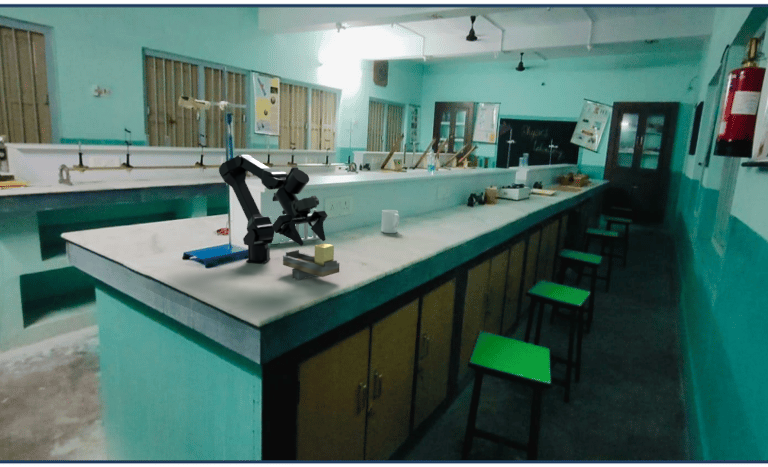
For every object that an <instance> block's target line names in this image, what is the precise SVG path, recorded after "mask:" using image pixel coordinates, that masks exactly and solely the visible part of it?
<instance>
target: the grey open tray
mask: <svg viewBox="0 0 768 467" xmlns="http://www.w3.org/2000/svg"><path fill="white" fill-rule="evenodd" d="M282 265H283V266H285V267H288V268H291V270H292V271H291V275H292V276H291V278H292V279H293V280H295V281H296V280H297V281H301V280H305V279H308V278H312V277H315V276H316V277H317V276H318V277H320V278H324V277H327V276H330V275H334V274H338V273H340V262H338V260H334V261H330V262H326V263H324V266H321V265H317V264H315V255H314V254H313V255H312V254H308V253H305V252H301V251H300V250H299V249H295V250H291V251H285V255H283V256H282Z"/></svg>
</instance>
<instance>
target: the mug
mask: <svg viewBox="0 0 768 467" xmlns="http://www.w3.org/2000/svg"><path fill="white" fill-rule="evenodd" d="M400 218H401V217H400V215H399V210H397V209H381V224H380V226H381V232H382V233H385V234H396V233H397V232H398V225H399V223H400Z"/></svg>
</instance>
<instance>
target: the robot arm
mask: <svg viewBox="0 0 768 467" xmlns="http://www.w3.org/2000/svg"><path fill="white" fill-rule="evenodd" d="M247 172H249V173H250V174H252V175H254V176H255V177H256V178H258V179H260V180H261V184H262V186H264V187H265V188H266V189H267V190H269V191H272V190H277V191H276V192H274V193H273V196H272V202H278V203H279V205H280V207H281V208H282V209H283V210H282V211H281V213H282V215H281V214H280V216H279V217H278V218H277V220H276V219H275V220H274V224H272V220H271V219H270V218H269V217H270V216H264V215H262V213H261V212H260V209H259V207H258V205H257V204H256V201H255V199H254V197H253V195H252V193H251V191H250V188H249V186H248V185H247V183H246V178H247ZM218 173H219V175H220V177H221V178H222V180H223V182H224V183H225V184H227V185H228V186H230V187H231V188H232V190H233V192H234V195H235V197H236V199H237V201H238V204H239V205H240V207H241V210H242V211H243V213H244V214H243V215H245V217H246V220H247V224H246V225H247V226H246V231H247V232H246V234H245V235H244V237H243V238H242V240H243V244H244V245H245V246H247V254H248V255H247V256H248V258H247V260H246V261H245V262H246V263H255V264H265V263H267V262H268V261H270V260H271V256H270V255H271V254H270V252H271V251H270V250H271V249H270V247H269V243H272V241H273V237H274V238H275V234H276V233H279V234H280V236H281V235H282V236H284V237H285V236H286V237H288V238H289V239H291V240H293V241H294V242H293V243H296V244H298V245H299V246H301V247H303V246H304V241H302V239H301V237H302V236H301V235H300V232H299V233H298V231H297V230H296V226H295V224H296V225H297V224H299V225H302V224H303V225H304V223H308V227H309V226H310V227H311V228H310V229H311V231H312V233H313V232H314V233H315V234H316V235H317V236H318V237H319V238H320V239H319V240H321V241H322V242H325V241H326V236H325V235H326V234H325V230H324V222H325V221H326V219H327V218H328V217H329V215H328V214H327V212H326V210H317V211H314V213H313V212H312V211H311V210H312V209H317V207H318V206H319V205H320V201H319V198H318V197H317V196H316V195H311V196H309V197H303V198H302V199H299V198H298V196H297V195H298V194H301V192H302V191H303V190H304V189H305V187H306V186H307V184H308V183H309V181H310V177H309V175H308V173H306V172H304V171H303V170H301V169H299V167H297V166H293V167H291V169H290V170H289V172H288V173H287V172H286V171H283V170H280V169H275V168H270V167H269V166H267V165H265V164H263V163H262V162H261V161H258V159H255V158H253V156H252V155H250V154H238V155H235V156H234V158H231V159H228V160H226V161H224V162H222V163H221V165H220V166H219V167H218ZM311 212H312V213H311ZM285 214H286V215H285ZM308 214H312V215H311V216H308Z"/></svg>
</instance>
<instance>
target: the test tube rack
mask: <svg viewBox="0 0 768 467" xmlns="http://www.w3.org/2000/svg"><path fill="white" fill-rule="evenodd" d="M314 211H318V210H317V208H313V210H312V213H309V214H308V216H311V215H312V214H313V213H314ZM296 230H297V231H298V233H299V234H300V224H297V225H296ZM311 236H312V237H309V224H308V223H303V237H304V238H301V239H302V241H303V242H307V241H317V240H321V239H320V238H319V237H318V236H317V235H316V234H315V233H314V232H313V231H312V235H311ZM292 243H295V242H294V241H293V240H289V241H284V242H280V244H279V245H281V244H292Z"/></svg>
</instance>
